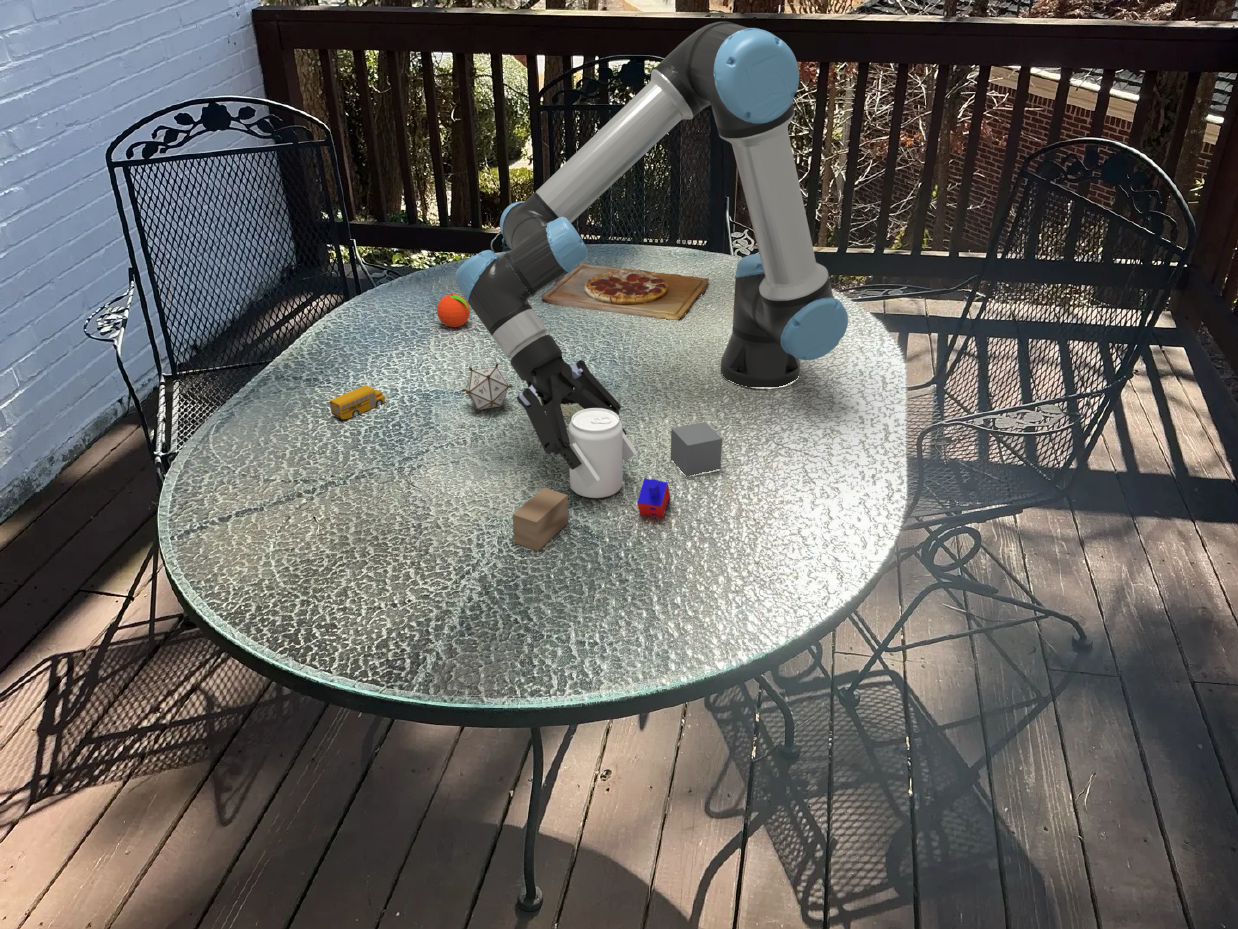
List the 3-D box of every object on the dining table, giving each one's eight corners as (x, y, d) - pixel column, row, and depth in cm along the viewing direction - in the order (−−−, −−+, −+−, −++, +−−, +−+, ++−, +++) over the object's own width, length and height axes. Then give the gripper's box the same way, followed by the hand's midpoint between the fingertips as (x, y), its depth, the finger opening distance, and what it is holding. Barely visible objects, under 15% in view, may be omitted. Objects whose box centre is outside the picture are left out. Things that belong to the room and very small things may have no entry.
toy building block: (641, 520, 141) (634, 492, 134) (648, 496, 143) (642, 468, 136) (664, 524, 140) (659, 496, 133) (670, 499, 142) (665, 472, 135)
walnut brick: (545, 516, 139) (544, 487, 136) (568, 523, 137) (567, 495, 135) (514, 543, 133) (512, 514, 130) (537, 552, 131) (536, 522, 129)
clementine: (481, 325, 201) (479, 293, 197) (460, 335, 196) (457, 303, 192) (453, 317, 205) (450, 286, 201) (431, 327, 200) (428, 296, 196)
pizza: (533, 308, 211) (532, 292, 209) (575, 267, 234) (575, 253, 232) (684, 326, 202) (685, 310, 200) (713, 282, 225) (713, 267, 223)
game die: (496, 430, 169) (500, 405, 160) (453, 411, 169) (454, 385, 159) (516, 390, 173) (521, 364, 164) (473, 372, 172) (477, 344, 163)
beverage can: (569, 474, 149) (567, 407, 142) (620, 472, 149) (620, 405, 143) (571, 502, 142) (569, 433, 136) (624, 500, 142) (624, 431, 136)
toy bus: (386, 403, 170) (384, 384, 168) (342, 424, 163) (339, 404, 161) (375, 398, 172) (372, 379, 170) (331, 418, 165) (328, 399, 163)
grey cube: (703, 453, 154) (705, 421, 151) (720, 471, 150) (722, 438, 147) (670, 460, 153) (671, 428, 150) (686, 478, 148) (687, 445, 145)
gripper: (561, 336, 152) (640, 451, 152) (467, 382, 137) (554, 510, 137) (586, 312, 146) (668, 432, 146) (490, 358, 132) (581, 491, 132)
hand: (612, 470), depth 142 cm, fingers open, 9 cm apart
